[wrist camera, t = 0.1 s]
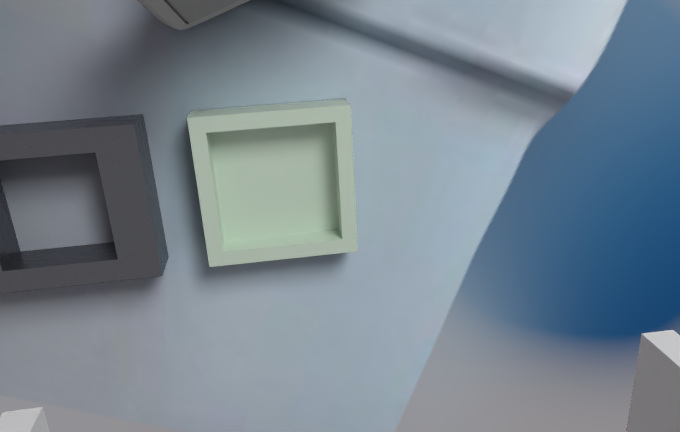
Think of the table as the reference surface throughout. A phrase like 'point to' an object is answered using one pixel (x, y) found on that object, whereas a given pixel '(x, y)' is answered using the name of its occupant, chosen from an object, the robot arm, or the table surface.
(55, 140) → the grey slotted holder
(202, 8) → the digital clock
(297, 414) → the table surface
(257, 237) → the tray
